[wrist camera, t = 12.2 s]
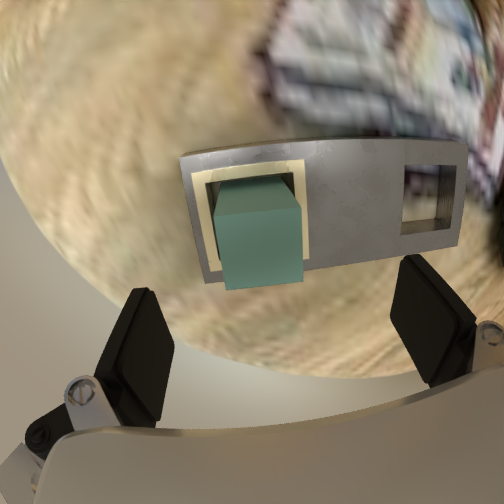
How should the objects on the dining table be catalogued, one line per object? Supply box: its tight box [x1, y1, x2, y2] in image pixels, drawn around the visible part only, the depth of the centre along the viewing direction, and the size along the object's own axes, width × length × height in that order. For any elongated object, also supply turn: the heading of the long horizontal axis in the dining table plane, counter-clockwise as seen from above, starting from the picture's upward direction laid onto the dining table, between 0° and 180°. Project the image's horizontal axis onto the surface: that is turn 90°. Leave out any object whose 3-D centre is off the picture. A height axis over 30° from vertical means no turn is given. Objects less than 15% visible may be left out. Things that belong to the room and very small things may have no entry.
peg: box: [214, 176, 303, 290], centre depth 19 cm, size 4×4×8 cm
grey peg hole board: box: [179, 136, 468, 284], centre depth 21 cm, size 24×10×3 cm, turn 97°
